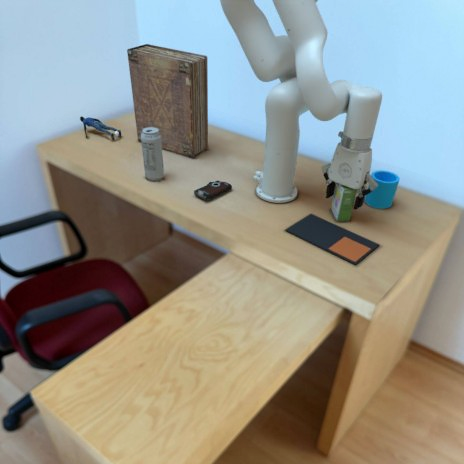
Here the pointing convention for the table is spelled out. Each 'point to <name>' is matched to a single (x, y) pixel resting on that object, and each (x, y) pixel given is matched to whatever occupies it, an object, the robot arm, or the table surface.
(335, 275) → the table surface
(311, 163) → the table surface
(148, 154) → the energy drink can
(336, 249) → the desk mat
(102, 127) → the person figurine
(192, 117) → the book
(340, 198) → the ink box
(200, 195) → the camera
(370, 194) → the mug
